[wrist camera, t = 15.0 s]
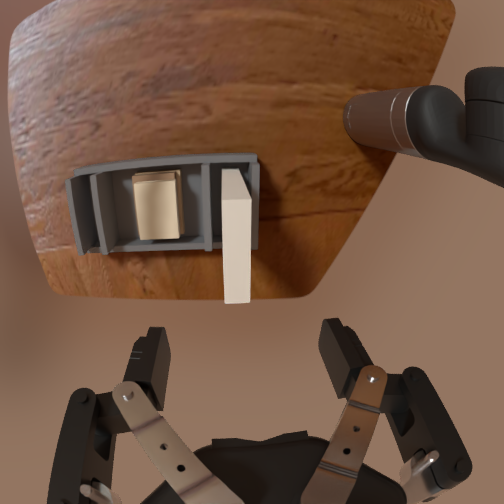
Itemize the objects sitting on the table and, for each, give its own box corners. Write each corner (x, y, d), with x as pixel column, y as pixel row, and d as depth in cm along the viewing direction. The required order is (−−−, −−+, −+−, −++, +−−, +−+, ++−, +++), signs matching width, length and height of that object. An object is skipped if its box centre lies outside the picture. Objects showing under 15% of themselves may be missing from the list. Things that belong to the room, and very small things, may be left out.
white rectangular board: (238, 167, 40) (251, 199, 22) (237, 229, 44) (250, 302, 26) (222, 167, 40) (221, 199, 22) (222, 230, 44) (224, 303, 26)
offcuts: (181, 168, 39) (176, 172, 35) (185, 230, 43) (181, 241, 39) (137, 171, 38) (128, 176, 34) (143, 232, 43) (136, 243, 39)
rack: (253, 152, 40) (259, 157, 34) (252, 237, 46) (257, 255, 40) (84, 165, 38) (64, 173, 31) (96, 243, 43) (80, 261, 37)
